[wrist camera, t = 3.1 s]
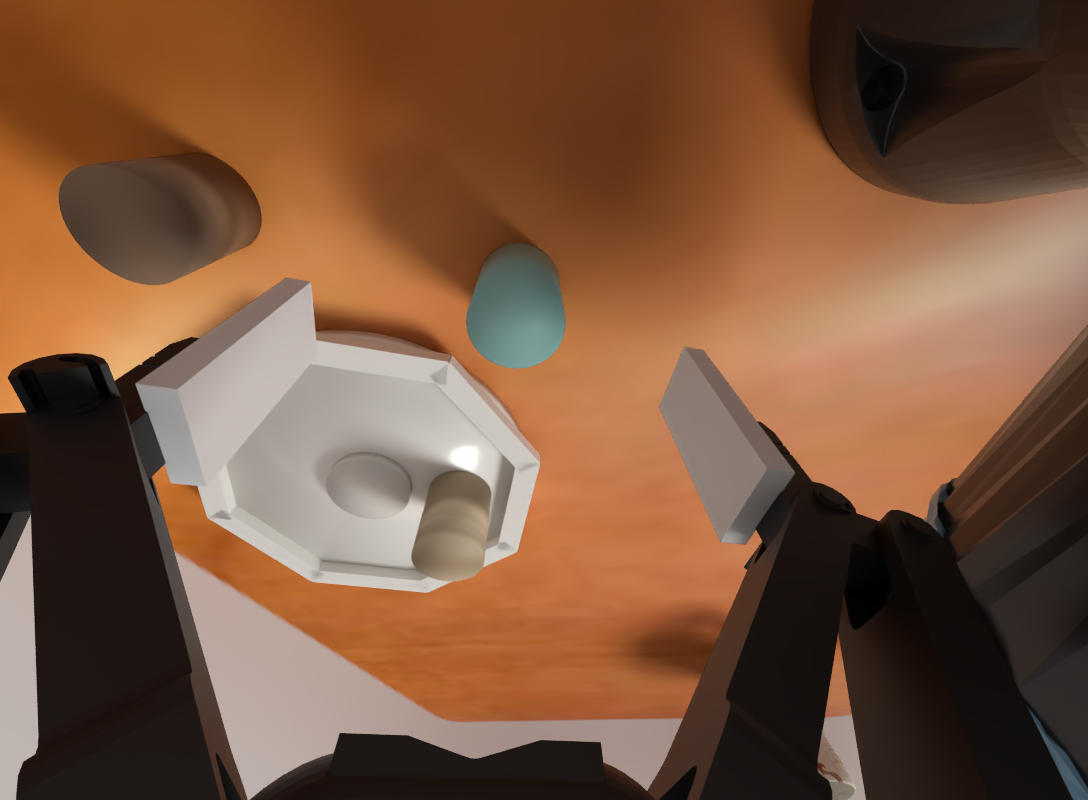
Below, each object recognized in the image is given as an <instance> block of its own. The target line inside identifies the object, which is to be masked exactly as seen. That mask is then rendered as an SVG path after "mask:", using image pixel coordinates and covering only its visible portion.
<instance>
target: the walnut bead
mask: <svg viewBox="0 0 1088 800" xmlns="http://www.w3.org/2000/svg"><path fill="white" fill-rule="evenodd" d="M59 205H60V210H61V213H62V217H63V219H64V221H65V224H66V226H67V228H68V229H69V231H70V233H71V234H72V236H73V237H74V239H75V240H76V241H77V243H78V244H79V245H80V246H81V247H82V249H83V250H84V251H85V252H86V253H87V254H88V255H89V256H90V257H92V258H93V259H94V260H95V261H96V262H98V263H99V264H100V265H102V266H103V267H104V268H106V269H107V270H109V271H111V272H112V273H114V274H116V275H118V276H120V277H122V278H125V279H127V280H130V281H133V282H136V283H140V284H146V285H161V284H166V283H170V282H172V281H174V280H176V279H179V278H181V277H183V276H185V275H187V274H189V273H191V272H193V271H196V270H198V269H200V268H202V267H204V266H206V265H208V264H210V263H213V262H215V261H217V260H219V259H221V258H223V257H225V256H227V255H230V254H232V253H234V252H236V251H238V250H240V249H242V248H244V247H246V246H248V245H250V244H251V243H252V242H253V241H254V240H255V239H256V238H257V236H258V234H259V232H260V228H261V220H262V219H261V211H260V206H259V203H258V201H257V198H256V196H255V194H254V192H253V191H252V189H251V187H250V186H249V185H248V183H247V182H246V181H245V180H244V178H243V177H242V176H241V175H240V174H239V173H238V172H237V171H236V170H234V169H233V168H232V167H231V166H229V165H228V164H226V163H225V162H223V161H221V160H219V159H217V158H215V157H212V156H209V155H206V154H201V153H186V154H178V155H169V156H161V157H153V158H144V159H136V160H128V161H119V162H111V163H103V164H94V165H87V166H82V167H79V168H76V169H74V170H73V171H71V172H70V173H69V174H68V175H67V176H66V177H65V178H64V180H63V181H62V184H61V186H60V191H59Z"/></svg>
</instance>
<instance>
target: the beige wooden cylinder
mask: <svg viewBox="0 0 1088 800" xmlns="http://www.w3.org/2000/svg"><path fill="white" fill-rule="evenodd" d="M490 503H491V489H490V487H489V485H488V484H487V482H486V481H485V480H484V479H482V478H481V477H480V476H478V475H476V474H474V473H471V472H467V471H460V470H457V471H449V472H445V473H442V474H440V475H439V476H437V477H436V478H435V479H434V480H433V481H432V482H431V484H430V487H429V491H428V494H427V498H426V502H425V505H424V509H423V513H422V516H421V520H420V524H419V527H418V531H417V535H416V538H415V542H414V546H413V549H412V554H411V559H412V562H413V565H414V566H415V567H416V568H417V570H419V571H420V572H421V573H423V574H424V575H426V576H428V577H430V578H433V579H436V580H441V581H460V580H465V579H468V578H471V577H473V576H474V575H476V574H477V573H478V572H480V570H481V569H482V567H483V565H484V560H485V550H486V541H487V531H488V522H489V512H490Z"/></svg>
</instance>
